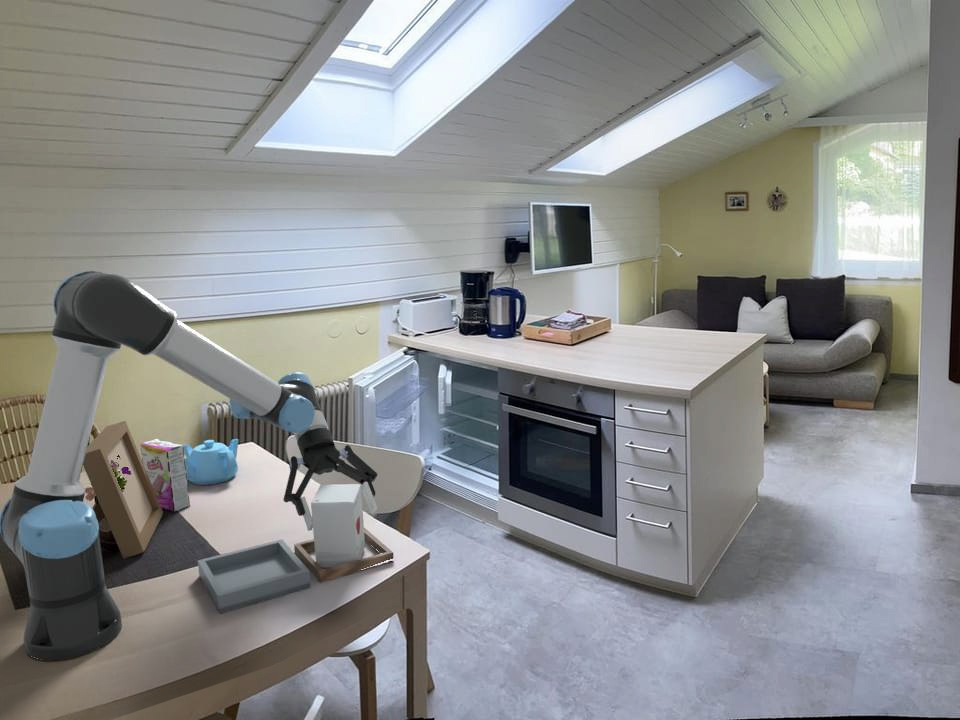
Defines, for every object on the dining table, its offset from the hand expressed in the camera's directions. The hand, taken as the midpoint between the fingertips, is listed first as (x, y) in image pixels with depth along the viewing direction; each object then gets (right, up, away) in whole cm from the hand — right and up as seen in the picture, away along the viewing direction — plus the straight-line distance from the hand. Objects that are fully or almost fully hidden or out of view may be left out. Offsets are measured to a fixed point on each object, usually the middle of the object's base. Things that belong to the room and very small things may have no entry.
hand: (344, 520), depth 159 cm
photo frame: (-54, -7, +14) cm, 56 cm away
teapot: (-46, +1, +53) cm, 70 cm away
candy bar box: (-50, -3, +33) cm, 60 cm away
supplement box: (-1, -8, +1) cm, 8 cm away
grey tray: (-17, -11, -8) cm, 21 cm away
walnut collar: (-1, -8, +2) cm, 8 cm away
